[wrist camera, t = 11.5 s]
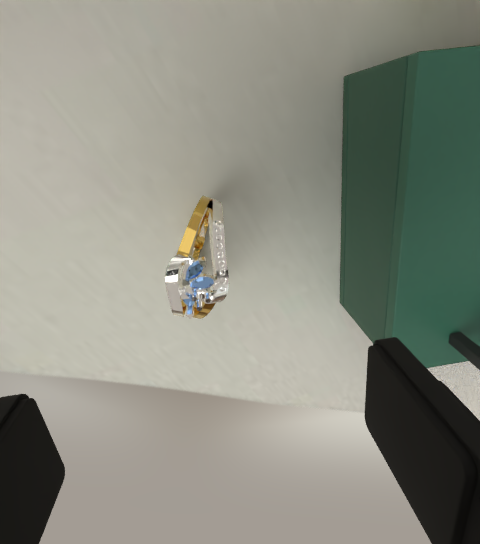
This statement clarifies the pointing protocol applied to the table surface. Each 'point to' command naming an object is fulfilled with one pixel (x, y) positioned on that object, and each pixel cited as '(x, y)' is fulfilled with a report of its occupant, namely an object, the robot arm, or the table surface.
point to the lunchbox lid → (438, 211)
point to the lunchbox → (370, 189)
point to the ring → (199, 264)
